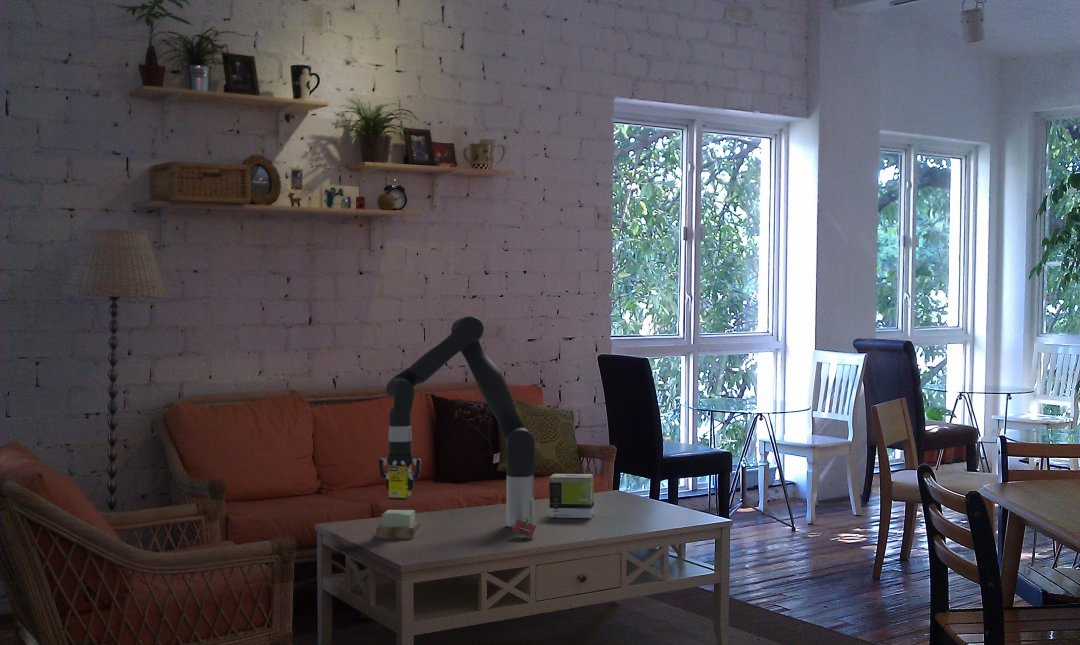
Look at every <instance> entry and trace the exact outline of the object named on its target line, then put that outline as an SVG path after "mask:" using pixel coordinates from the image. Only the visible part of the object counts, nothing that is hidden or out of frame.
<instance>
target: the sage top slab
mask: <svg viewBox="0 0 1080 645" xmlns="http://www.w3.org/2000/svg"><path fill="white" fill-rule="evenodd" d="M381 516H382V518H381V519H382V520H381V523H382V527H411V526H412V525H413V524H414V523H415V521H416V510H415V509H414V510H413V509H387V510H386V511H385V512H384V513H382V514H381Z"/></svg>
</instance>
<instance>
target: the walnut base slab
mask: <svg viewBox="0 0 1080 645" xmlns="http://www.w3.org/2000/svg"><path fill="white" fill-rule="evenodd" d="M420 532H421V521H420V520H419V521H417V520H415V523H414V524H413V525H412V526H411V527H382V522H381V523H380V524H379V525H378V526H377V527H376V539H387V540H388V539H390V540H391V539H392V540H393V539H395V540H396V539H398V540H399V539H401V540H402V539H403V540H405V539H406V540H414V539H415V538H416V537H417V536H418V535H419V533H420Z"/></svg>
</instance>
